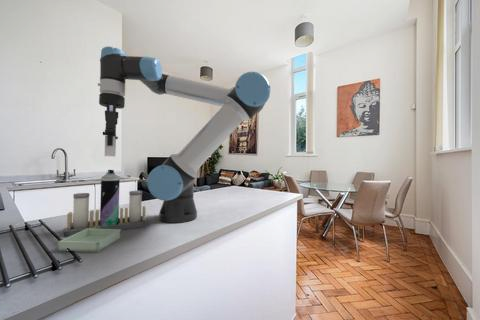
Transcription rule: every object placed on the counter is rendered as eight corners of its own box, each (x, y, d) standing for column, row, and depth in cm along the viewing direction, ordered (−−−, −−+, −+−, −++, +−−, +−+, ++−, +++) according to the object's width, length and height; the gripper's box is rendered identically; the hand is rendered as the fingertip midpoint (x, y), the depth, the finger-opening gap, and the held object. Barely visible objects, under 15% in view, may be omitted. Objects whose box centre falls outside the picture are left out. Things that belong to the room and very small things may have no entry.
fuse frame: (144, 219, 82) (144, 204, 82) (146, 226, 74) (147, 209, 74) (70, 227, 71) (70, 210, 71) (63, 236, 63) (64, 216, 63)
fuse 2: (143, 222, 79) (144, 190, 79) (137, 226, 74) (138, 192, 74) (132, 222, 79) (133, 190, 79) (126, 225, 74) (127, 192, 74)
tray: (120, 237, 64) (120, 229, 64) (97, 252, 53) (98, 242, 53) (87, 236, 64) (87, 228, 64) (58, 251, 53) (58, 241, 53)
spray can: (98, 230, 69) (99, 170, 69) (101, 225, 74) (103, 169, 74) (117, 228, 71) (118, 170, 71) (119, 223, 76) (120, 169, 76)
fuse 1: (91, 228, 71) (92, 193, 71) (82, 232, 66) (83, 195, 66) (79, 228, 71) (80, 192, 71) (68, 232, 66) (70, 194, 66)
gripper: (102, 101, 81) (100, 155, 81) (95, 81, 60) (93, 156, 60) (124, 104, 85) (122, 156, 85) (125, 87, 63) (123, 156, 63)
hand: (110, 156), depth 72 cm, fingers open, 13 cm apart
